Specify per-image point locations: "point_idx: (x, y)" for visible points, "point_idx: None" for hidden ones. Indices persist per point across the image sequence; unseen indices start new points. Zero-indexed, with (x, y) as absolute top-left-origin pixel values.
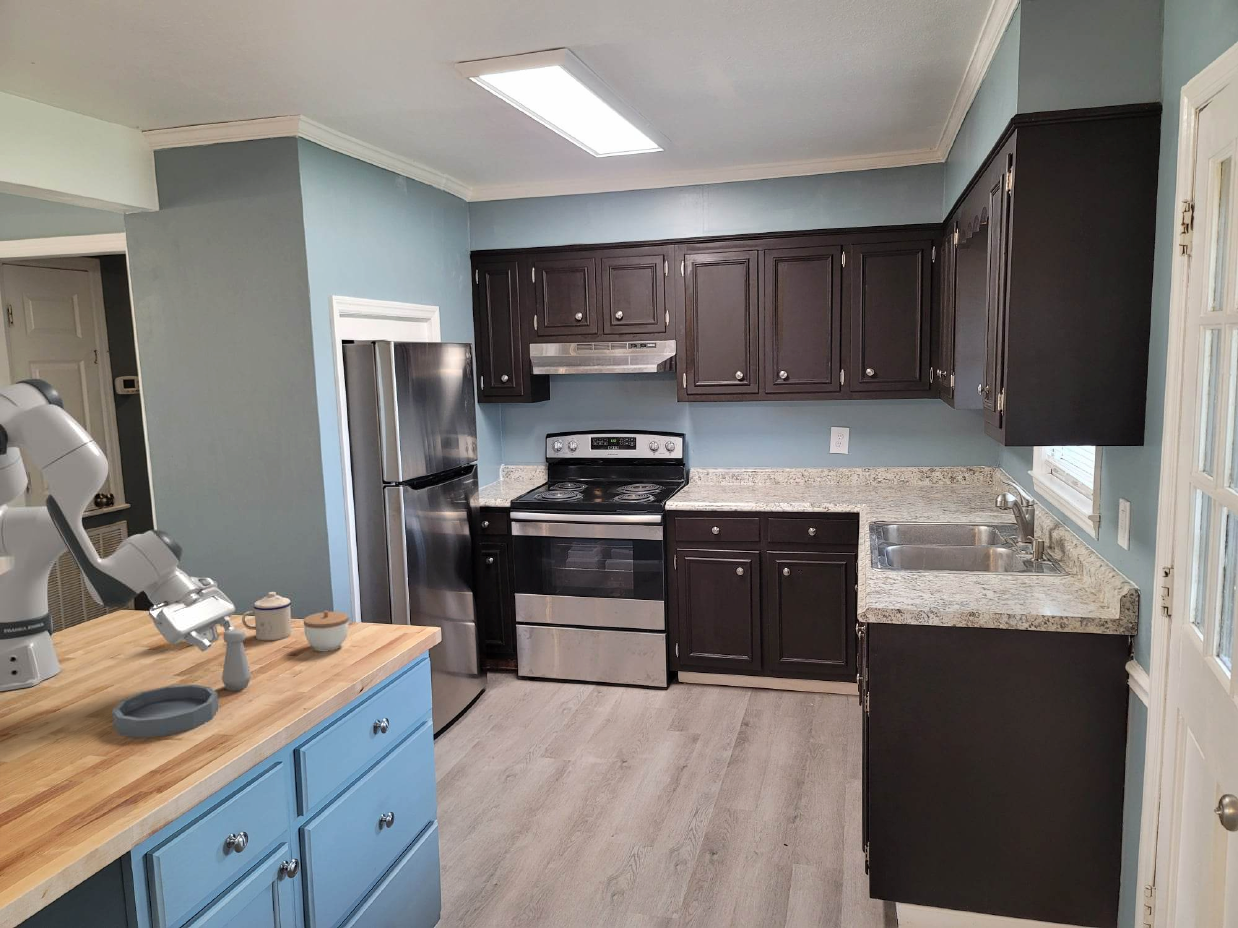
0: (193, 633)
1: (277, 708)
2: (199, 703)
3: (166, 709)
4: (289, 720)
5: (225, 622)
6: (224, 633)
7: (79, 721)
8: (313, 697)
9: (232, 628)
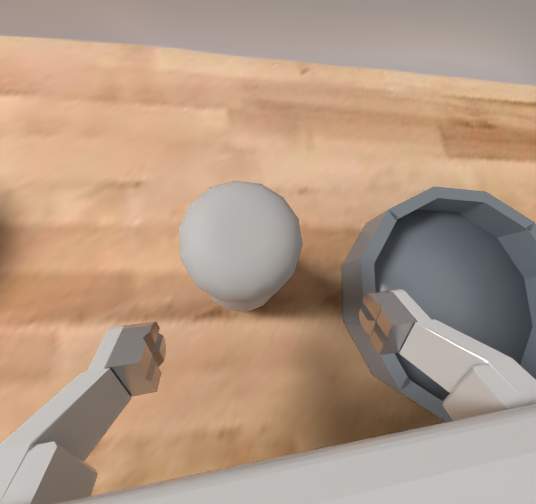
0: (513, 384)
1: (319, 117)
2: (379, 268)
3: (431, 318)
4: (357, 71)
5: (68, 451)
6: (282, 277)
7: None
8: (250, 81)
9: (114, 352)
